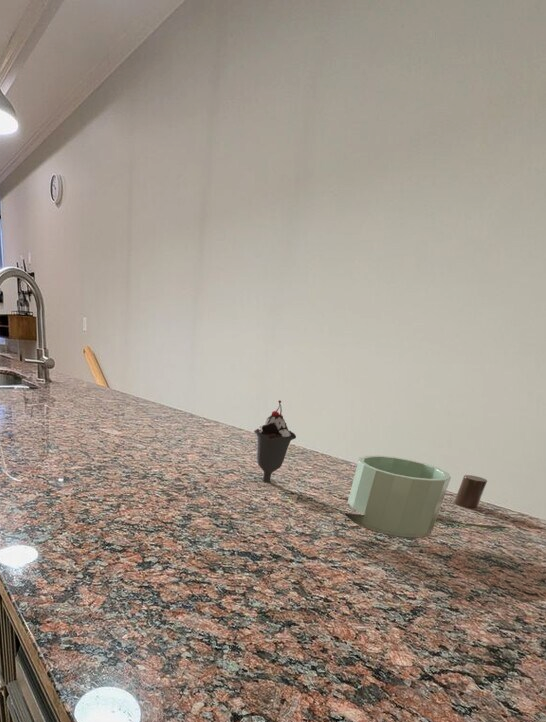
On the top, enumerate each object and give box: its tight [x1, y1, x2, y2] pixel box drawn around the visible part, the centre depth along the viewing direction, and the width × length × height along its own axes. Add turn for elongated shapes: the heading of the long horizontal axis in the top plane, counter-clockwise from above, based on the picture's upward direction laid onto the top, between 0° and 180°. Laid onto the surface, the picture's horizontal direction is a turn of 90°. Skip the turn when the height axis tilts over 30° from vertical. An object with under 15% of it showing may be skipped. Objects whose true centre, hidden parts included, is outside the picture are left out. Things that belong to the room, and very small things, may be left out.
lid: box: [453, 474, 508, 530], centre depth 72 cm, size 13×13×6 cm
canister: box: [345, 455, 452, 539], centre depth 66 cm, size 12×12×8 cm
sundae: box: [253, 399, 297, 483], centre depth 73 cm, size 7×7×15 cm
